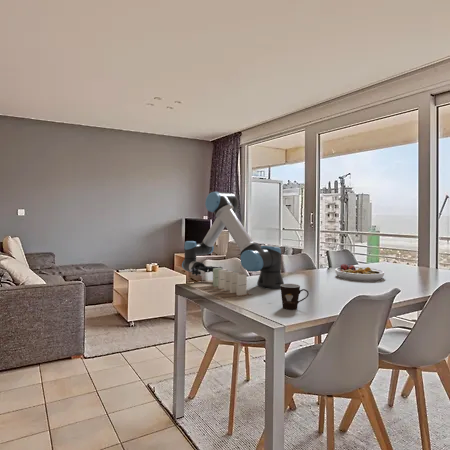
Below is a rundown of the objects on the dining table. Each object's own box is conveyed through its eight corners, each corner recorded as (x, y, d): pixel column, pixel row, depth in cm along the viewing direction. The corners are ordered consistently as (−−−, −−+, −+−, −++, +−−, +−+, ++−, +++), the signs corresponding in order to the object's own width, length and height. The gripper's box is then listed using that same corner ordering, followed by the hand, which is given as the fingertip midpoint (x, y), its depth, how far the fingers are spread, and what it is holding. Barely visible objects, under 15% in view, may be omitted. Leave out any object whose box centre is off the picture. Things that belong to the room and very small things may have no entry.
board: (194, 288, 203) (194, 287, 203) (221, 285, 212) (221, 284, 212) (223, 300, 176) (223, 298, 176) (252, 296, 185) (252, 294, 185)
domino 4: (230, 292, 190) (230, 273, 190) (238, 291, 193) (238, 272, 193) (231, 293, 189) (231, 273, 189) (239, 292, 192) (240, 272, 191)
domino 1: (212, 286, 206) (212, 268, 205) (220, 285, 208) (220, 267, 208) (214, 286, 204) (214, 268, 204) (222, 285, 207) (222, 268, 207)
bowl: (393, 279, 237) (393, 267, 237) (365, 284, 220) (365, 271, 220) (353, 272, 262) (353, 261, 262) (325, 276, 245) (325, 265, 245)
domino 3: (224, 290, 195) (224, 271, 195) (232, 289, 198) (232, 270, 198) (225, 290, 194) (225, 272, 194) (233, 289, 197) (233, 271, 196)
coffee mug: (276, 307, 163) (276, 285, 163) (287, 304, 170) (287, 282, 169) (299, 313, 155) (299, 289, 155) (309, 309, 162) (309, 286, 161)
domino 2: (218, 288, 200) (218, 270, 200) (226, 287, 203) (226, 269, 203) (219, 288, 199) (219, 270, 199) (227, 287, 202) (227, 269, 201)
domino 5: (236, 294, 185) (236, 275, 185) (244, 293, 188) (244, 274, 187) (238, 295, 184) (238, 275, 183) (246, 294, 186) (246, 274, 186)
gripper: (214, 272, 233) (232, 277, 215) (178, 275, 220) (194, 281, 202) (214, 260, 233) (233, 264, 215) (178, 263, 220) (194, 267, 202)
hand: (214, 272), depth 209 cm, fingers open, 13 cm apart
